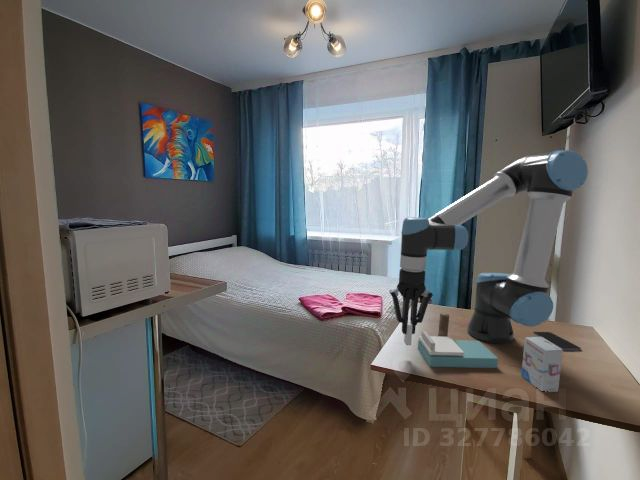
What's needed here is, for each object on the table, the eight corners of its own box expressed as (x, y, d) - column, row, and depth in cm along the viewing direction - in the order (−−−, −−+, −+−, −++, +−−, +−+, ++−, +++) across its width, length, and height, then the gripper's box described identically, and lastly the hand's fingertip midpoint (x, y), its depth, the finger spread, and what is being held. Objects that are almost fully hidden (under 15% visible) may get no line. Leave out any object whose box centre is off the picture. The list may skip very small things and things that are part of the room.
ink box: (519, 375, 97) (524, 335, 95) (535, 374, 98) (540, 335, 96) (541, 392, 89) (546, 349, 87) (559, 392, 89) (565, 349, 87)
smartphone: (550, 331, 129) (582, 348, 114) (549, 334, 129) (582, 351, 114) (531, 331, 128) (562, 348, 113) (531, 334, 128) (561, 351, 113)
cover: (449, 339, 111) (450, 330, 111) (463, 355, 100) (464, 345, 100) (418, 338, 111) (419, 329, 111) (430, 355, 100) (431, 344, 100)
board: (477, 349, 113) (478, 340, 112) (497, 368, 101) (498, 358, 100) (417, 348, 112) (418, 339, 112) (429, 366, 100) (430, 356, 100)
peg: (444, 340, 119) (447, 312, 117) (448, 344, 116) (450, 316, 114) (436, 340, 119) (438, 312, 117) (439, 343, 116) (441, 315, 114)
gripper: (429, 266, 106) (424, 338, 109) (388, 265, 106) (384, 337, 109) (438, 272, 99) (432, 349, 102) (393, 271, 98) (389, 348, 102)
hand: (407, 343), depth 106 cm, fingers closed
